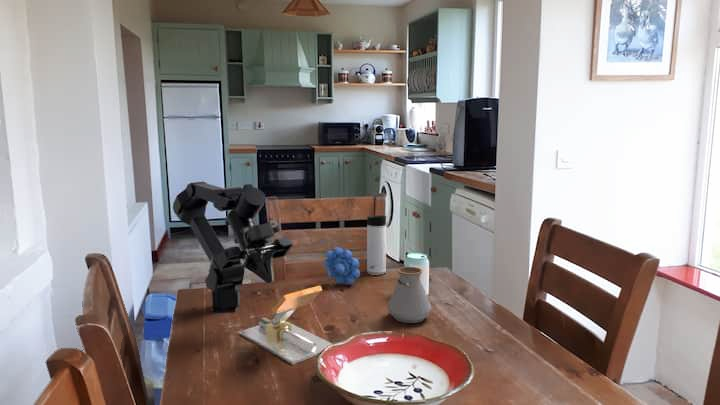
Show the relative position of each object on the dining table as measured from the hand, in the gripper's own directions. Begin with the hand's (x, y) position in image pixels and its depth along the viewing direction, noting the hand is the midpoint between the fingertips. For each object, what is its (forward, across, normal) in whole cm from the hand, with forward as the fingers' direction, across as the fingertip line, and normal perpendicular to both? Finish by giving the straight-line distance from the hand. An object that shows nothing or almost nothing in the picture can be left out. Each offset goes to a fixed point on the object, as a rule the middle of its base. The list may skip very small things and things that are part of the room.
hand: (270, 282), depth 127 cm
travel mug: (-3, +53, +22) cm, 57 cm away
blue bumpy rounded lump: (-2, +36, +21) cm, 42 cm away
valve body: (+13, 0, +5) cm, 14 cm away
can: (+13, +46, +5) cm, 49 cm away
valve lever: (+8, 0, +4) cm, 9 cm away
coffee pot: (+22, +28, -4) cm, 36 cm away
